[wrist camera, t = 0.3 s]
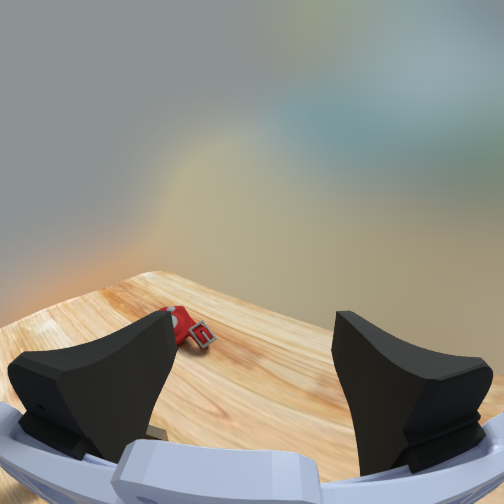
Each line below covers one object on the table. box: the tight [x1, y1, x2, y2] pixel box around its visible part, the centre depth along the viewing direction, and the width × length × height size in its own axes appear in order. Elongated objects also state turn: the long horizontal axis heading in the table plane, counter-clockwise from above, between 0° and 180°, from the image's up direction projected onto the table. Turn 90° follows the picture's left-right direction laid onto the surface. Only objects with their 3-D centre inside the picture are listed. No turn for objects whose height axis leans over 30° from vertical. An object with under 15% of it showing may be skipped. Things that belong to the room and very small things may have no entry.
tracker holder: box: [160, 306, 217, 348], centre depth 43 cm, size 12×4×10 cm
